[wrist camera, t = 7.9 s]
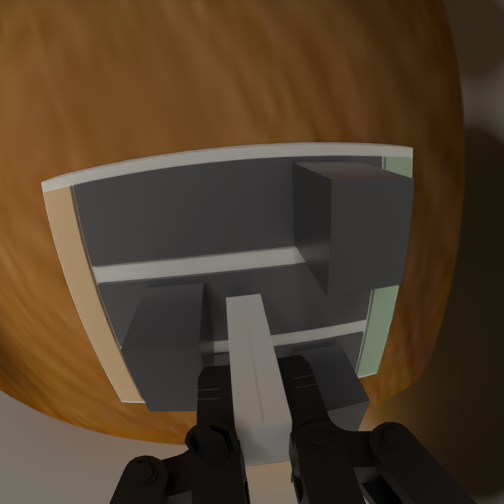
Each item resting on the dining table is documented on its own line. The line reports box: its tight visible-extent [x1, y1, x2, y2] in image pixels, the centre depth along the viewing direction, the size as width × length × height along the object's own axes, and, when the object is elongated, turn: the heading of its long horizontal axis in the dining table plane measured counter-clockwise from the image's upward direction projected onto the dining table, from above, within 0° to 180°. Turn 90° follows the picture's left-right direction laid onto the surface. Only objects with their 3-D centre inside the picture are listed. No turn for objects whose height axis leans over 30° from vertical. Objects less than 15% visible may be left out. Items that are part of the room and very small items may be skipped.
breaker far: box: [293, 344, 369, 431], centre depth 14 cm, size 3×4×4 cm
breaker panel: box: [41, 142, 413, 403], centre depth 15 cm, size 18×15×2 cm
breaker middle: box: [121, 282, 214, 411], centre depth 12 cm, size 3×4×4 cm
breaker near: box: [292, 161, 415, 297], centre depth 10 cm, size 3×4×4 cm
